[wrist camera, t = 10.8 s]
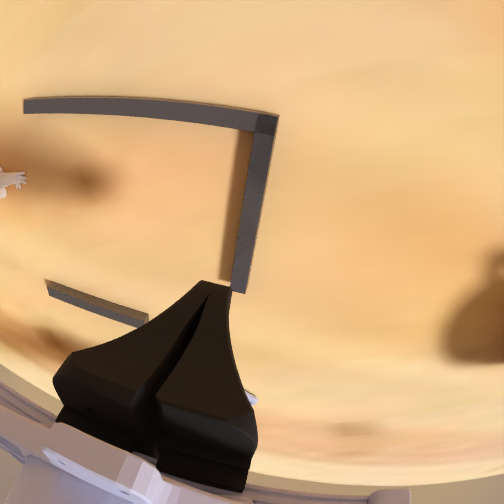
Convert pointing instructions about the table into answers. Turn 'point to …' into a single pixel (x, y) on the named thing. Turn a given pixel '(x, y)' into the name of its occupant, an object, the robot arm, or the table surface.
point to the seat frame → (186, 112)
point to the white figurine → (10, 181)
